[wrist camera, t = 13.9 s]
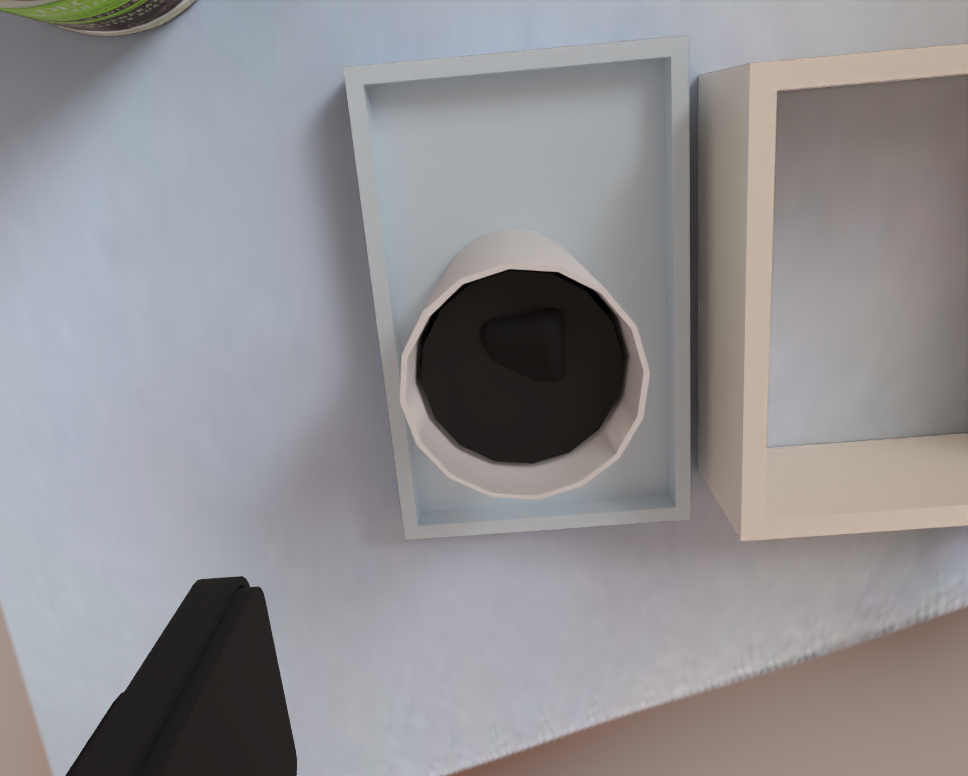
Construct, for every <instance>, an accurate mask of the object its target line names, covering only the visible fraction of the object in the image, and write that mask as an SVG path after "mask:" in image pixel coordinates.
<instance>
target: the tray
mask: <svg viewBox="0 0 968 776" xmlns="http://www.w3.org/2000/svg"><path fill="white" fill-rule="evenodd" d="M343 70H344V77H345V85H346V93H347V100H348V108H349V116H350V123H351V131H352V139H353V146H354V154H355V162H356V169H357V177H358V185H359V192H360V200H361V208H362V215H363V223H364V231H365V238H366V246H367V253H368V261H369V269H370V276H371V284H372V292H373V299H374V307H375V315H376V322H377V330H378V338H379V345H380V353H381V361H382V368H383V376H384V384H385V391H386V399H387V407H388V414H389V422H390V430H391V437H392V445H393V452H394V460H395V468H396V475H397V483H398V491H399V498H400V506H401V514H402V521H403V529H404V537H405V540H416V539H430V538H444V537H458V536H472V535H486V534H499V533H513V532H527V531H541V530H555V529H569V528H583V527H597V526H611V525H625V524H639V523H653V522H666V521H680V520H691V441H690V132H689V35H687V36H676V37H665V38H654V39H644V40H633V41H622V42H611V43H600V44H589V45H579V46H568V47H557V48H546V49H535V50H524V51H514V52H503V53H492V54H481V55H470V56H459V57H449V58H438V59H427V60H416V61H405V62H394V63H384V64H373V65H362V66H351V67H343ZM502 229H512V230H526V231H535V232H537V233H539V234H541V235H543V236H545V237H547V238H549V239H551V240H553V241H555V242H557V243H559V244H561V245H562V247H563V248H564V249H565V250H567V251H568V252H569V253H570V254H571V255H572V256H573V257H574V258H575V259H576V260H577V261H578V262H579V263H580V264H581V265H582V266H583V267H584V268H585V269H586V270H587V271H588V272H589V273H590V274H591V275H592V276H593V277H594V278H595V279H596V280H597V281H598V282H599V283H600V284H601V285H602V286H603V287H604V288H605V289H606V290H607V291H608V292H609V293H610V294H611V296H612V297H613V298H614V299H615V300H616V302H617V303H618V304H619V305H620V306H621V308H622V309H623V310H624V311H625V312H626V314H627V315H628V316H629V317H630V318H631V320H632V321H633V322H634V323H635V324H636V326H637V328H638V331H639V335H640V338H641V342H642V346H643V349H644V353H645V356H646V360H647V363H648V367H649V370H650V375H649V382H648V389H647V396H646V404H645V411H644V418H643V420H642V421H641V423H640V425H639V426H638V428H637V430H636V431H635V433H634V435H633V436H632V438H631V440H630V441H629V443H628V445H627V446H626V448H625V450H624V451H623V453H622V455H621V456H620V458H619V459H618V460H616V461H615V462H614V463H612V464H611V465H610V466H608V467H607V468H606V469H605V470H603V471H602V472H601V473H599V474H598V475H597V476H595V477H594V478H593V479H591V480H590V481H589V482H587V483H586V484H585V485H584V486H582V487H579V488H575V489H572V490H569V491H565V492H562V493H559V494H555V495H552V496H549V497H545V498H542V499H539V500H531V499H516V498H500V497H490V496H488V495H485V494H483V493H481V492H479V491H477V490H474V489H472V488H470V487H468V486H466V485H463V484H461V483H459V482H457V481H454V480H452V479H450V478H448V477H447V476H446V475H445V474H444V473H443V472H442V471H441V470H440V469H439V467H438V466H437V465H436V464H435V463H434V462H433V461H432V460H431V459H430V458H429V457H428V456H427V455H426V454H425V453H424V452H423V451H422V450H421V449H420V448H419V447H418V446H417V445H416V442H415V440H414V437H413V435H412V432H411V429H410V427H409V424H408V422H407V419H406V417H405V414H404V412H403V409H402V406H401V404H400V382H401V355H402V353H403V351H404V349H405V347H406V345H407V343H408V341H409V339H410V337H411V335H412V332H413V330H414V328H415V326H416V324H417V322H418V320H419V318H420V316H421V314H422V312H423V310H424V308H425V307H426V305H427V303H428V301H429V299H430V298H431V296H432V294H433V292H434V291H435V289H436V287H437V285H438V284H439V282H440V280H441V278H442V277H443V275H444V273H445V271H446V270H447V268H448V266H449V264H450V263H451V261H452V259H453V258H454V257H455V256H456V255H457V254H458V253H459V252H461V251H462V250H463V249H464V248H465V247H466V246H467V245H469V244H470V243H471V242H472V241H473V240H474V239H476V238H479V237H481V236H484V235H487V234H490V233H493V232H496V231H499V230H502Z"/></svg>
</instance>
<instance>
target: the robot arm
mask: <svg viewBox="0 0 968 776" xmlns="http://www.w3.org/2000/svg"><path fill="white" fill-rule="evenodd" d="M296 774H297V756H296V750H295V745H294V740H293V735H292V730H291V725H290V720H289V715H288V710H287V705H286V700H285V695H284V690H283V685H282V681H281V676H280V671H279V666H278V661H277V656H276V651H275V646H274V641H273V636H272V631H271V626H270V621H269V616H268V611H267V606H266V601H265V597H264V593H263V591H262V589H261V588H260V587H250V585H249V583H248V581H247V579H246V578H244V577H243V576H240V577H226V578H212V579H201V580H197V581H196V583H195V584H194V585H193V586H192V588H191V589H190V591H189V593H188V594H187V596H186V597H185V599H184V600H183V602H182V603H181V605H180V606H179V608H178V610H177V611H176V613H175V614H174V616H173V617H172V619H171V620H170V622H169V624H168V625H167V627H166V628H165V630H164V631H163V633H162V634H161V636H160V637H159V639H158V641H157V642H156V644H155V645H154V647H153V648H152V650H151V651H150V653H149V655H148V656H147V658H146V659H145V661H144V662H143V664H142V665H141V667H140V668H139V670H138V672H137V673H136V675H135V676H134V678H133V679H132V681H131V682H130V684H129V686H128V687H127V689H126V690H125V692H123V693H121V694H120V695H119V696H118V698H117V699H116V700H115V701H114V702H113V704H112V705H111V707H110V708H109V710H108V711H107V713H106V714H105V716H104V717H103V719H102V721H101V722H100V724H99V725H98V727H97V728H96V730H95V731H94V733H93V734H92V736H91V737H90V739H89V740H88V742H87V743H86V745H85V747H84V748H83V750H82V751H81V753H80V754H79V756H78V757H77V759H76V760H75V762H74V763H73V765H72V766H71V768H70V770H69V771H68V773H67V774H66V776H296Z"/></svg>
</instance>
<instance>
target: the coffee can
mask: <svg viewBox="0 0 968 776" xmlns="http://www.w3.org/2000/svg"><path fill="white" fill-rule="evenodd" d="M195 1H196V0H0V11H3V12H7V13H11V14H15V15H19V16H22V17H27V18H31V19H34V20H37V21H42V22H48V23H50V24H53V25H55V26H58V27H60V28H63V29H67V30H70V31H74V32H78V33H83V34H90V35H100V36H117V35H126V34H133V33H137V32H141V31H145V30H148V29H152V28H155V27H158V26H160V25H162V24H164V23H166V22H168V21H169V20H171V19H172V18H174V17H175V16H177V15H179V14H180V13H181V12H183V11H184V10H185V9H186V8H188V7H189V6H190V5H191V4H192V3H193V2H195Z"/></svg>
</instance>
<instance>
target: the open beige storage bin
mask: <svg viewBox="0 0 968 776" xmlns="http://www.w3.org/2000/svg"><path fill="white" fill-rule="evenodd" d="M958 75H968V43H967V44H956V45H945V46H934V47H923V48H912V49H901V50H890V51H879V52H868V53H857V54H846V55H835V56H824V57H813V58H802V59H791V60H780V61H769V62H758V63H749V64H745V65H740V66H736V67H732V68H727V69H723V70H719V71H714V72H710V73H706V74H701V75H698V471H699V472H700V474H701V476H702V477H703V479H704V481H705V482H706V484H707V486H708V487H709V489H710V491H711V492H712V494H713V496H714V497H715V499H716V501H717V502H718V504H719V506H720V507H721V509H722V511H723V512H724V514H725V516H726V517H727V519H728V521H729V522H730V524H731V526H732V527H733V529H734V531H735V532H736V534H737V536H738V537H739V539H740V541H755V540H769V539H783V538H797V537H811V536H825V535H840V534H854V533H868V532H882V531H896V530H910V529H924V528H938V527H953V526H967V525H968V433H961V434H947V435H934V436H921V437H907V438H894V439H881V440H867V441H854V442H840V443H827V444H814V445H800V446H787V447H773V448H767V419H768V385H769V351H770V317H771V283H772V249H773V215H774V180H775V146H776V112H777V92H779V91H790V90H801V89H813V88H824V87H835V86H846V85H857V84H868V83H879V82H891V81H902V80H913V79H924V78H935V77H946V76H958Z"/></svg>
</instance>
